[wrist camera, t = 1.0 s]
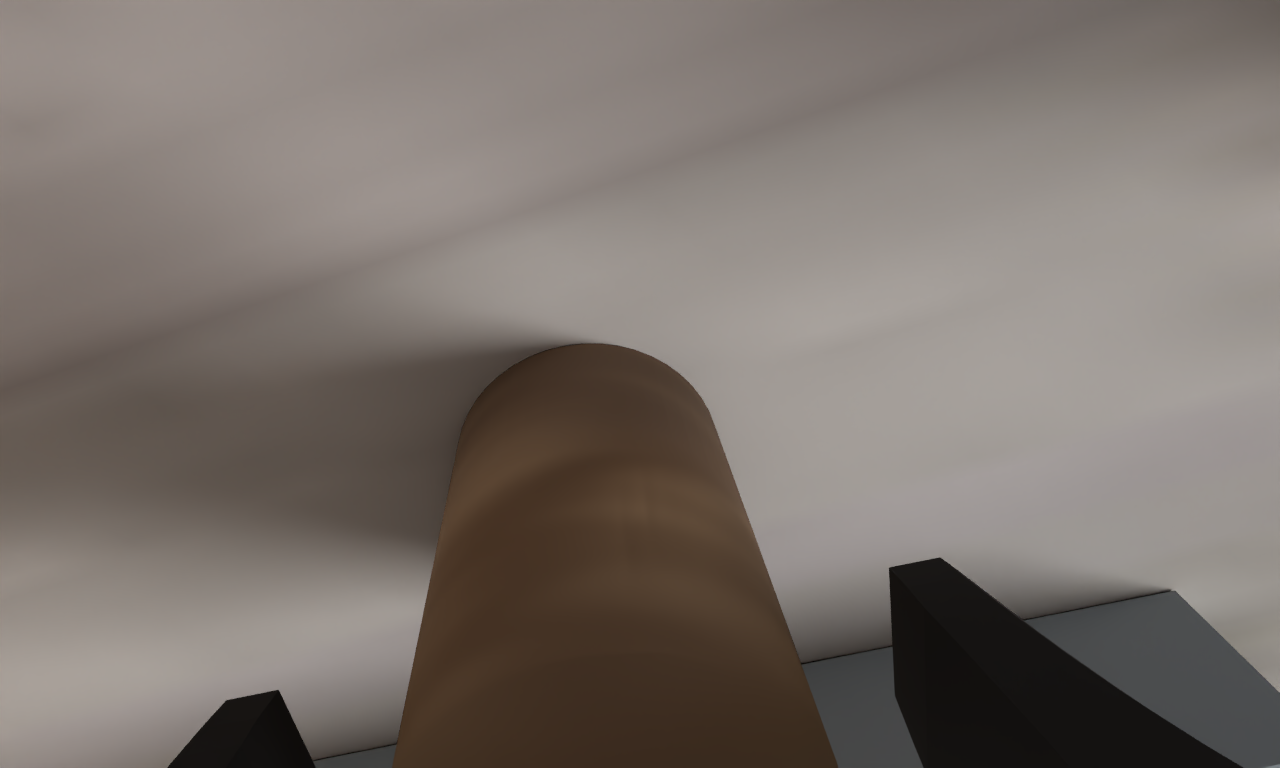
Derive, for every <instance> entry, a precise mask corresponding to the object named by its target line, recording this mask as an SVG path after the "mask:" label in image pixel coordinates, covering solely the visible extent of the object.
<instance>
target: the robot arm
mask: <svg viewBox="0 0 1280 768" xmlns="http://www.w3.org/2000/svg"><path fill="white" fill-rule="evenodd" d="M889 577H890V600H891V623H892V645H893V668H894V690H895V697H896V700H897V703H898V705H899V708H900V710H901V713H902V715H903V718H904V720H905V723H906V726H907V728H908V731H909V733H910V736H911V738H912V741H913V743H914V746H915V748H916V751H917V753H918V756H919V758H920V760H921V763H922V765H923V768H1244V767H1242V766H1240V765H1238V764H1237V763H1235V762H1233V761H1232V760H1230V759H1228V758H1227V757H1225V756H1223V755H1222V754H1220V753H1218V752H1217V751H1215V750H1213V749H1212V748H1210V747H1208V746H1207V745H1205V744H1203V743H1202V742H1200V741H1199V740H1197V739H1195V738H1194V737H1192V736H1191V735H1189V734H1188V733H1186V732H1184V731H1183V730H1181V729H1180V728H1178V727H1177V726H1175V725H1173V724H1172V723H1170V722H1169V721H1167V720H1166V719H1164V718H1162V717H1161V716H1159V715H1158V714H1156V713H1155V712H1153V711H1152V710H1150V709H1148V708H1147V707H1145V706H1144V705H1142V704H1141V703H1139V702H1138V701H1137V700H1135V699H1134V698H1132V697H1131V696H1129V695H1128V694H1126V693H1125V692H1123V691H1122V690H1120V689H1119V688H1117V687H1116V686H1114V685H1113V684H1111V683H1110V682H1109V681H1107V680H1106V679H1104V678H1103V677H1101V676H1100V675H1099V674H1097V673H1096V672H1094V671H1093V670H1091V669H1090V668H1089V667H1087V666H1086V665H1084V664H1083V663H1081V662H1080V661H1079V660H1077V659H1076V658H1074V657H1073V656H1072V655H1070V654H1069V653H1067V652H1066V651H1064V650H1063V649H1062V648H1060V647H1059V646H1057V645H1056V644H1055V643H1053V642H1052V641H1051V640H1049V639H1048V638H1046V637H1045V636H1044V635H1042V634H1041V633H1040V632H1038V631H1037V630H1036V629H1034V628H1033V627H1032V626H1030V625H1029V624H1028V623H1026V622H1025V621H1024V620H1022V619H1021V618H1020V617H1018V616H1017V615H1016V614H1014V613H1013V612H1012V611H1010V610H1009V609H1008V608H1006V607H1005V606H1004V605H1002V604H1001V603H1000V602H998V601H997V600H996V599H994V598H993V597H992V596H991V595H989V594H988V593H987V592H985V591H984V590H983V589H981V588H980V587H979V586H978V585H976V584H975V583H974V582H972V581H971V580H970V579H968V578H967V577H966V576H964V575H963V574H962V573H961V572H959V571H958V570H957V569H955V568H954V567H953V566H951V565H950V564H948V563H947V562H946V561H944V560H943V559H941V558H935V559H930V560H925V561H920V562H915V563H910V564H905V565H900V566H895V567H890V568H889ZM168 768H316V767H315V765H314V763H313V761H312V759H311V757H310V754H309V752H308V750H307V748H306V746H305V744H304V742H303V740H302V738H301V736H300V734H299V731H298V729H297V727H296V725H295V723H294V721H293V719H292V717H291V715H290V713H289V711H288V708H287V706H286V704H285V702H284V700H283V698H282V696H281V694H280V692H279V690H276V691H271V692H266V693H261V694H256V695H251V696H246V697H241V698H236V699H231V700H226V701H225V703H224V704H223V705H222V706H221V707H220V708H219V709H218V710H217V711H216V712H215V713H214V714H213V716H212V717H211V718H210V719H209V720H208V721H207V722H206V723H205V724H204V726H203V727H202V728H201V729H200V730H199V731H198V733H197V734H196V735H195V736H194V737H193V738H192V739H191V741H190V742H189V743H188V744H187V745H186V746H185V748H184V749H183V750H182V751H181V752H180V753H179V755H178V756H177V757H176V758H175V759H174V760H173V762H172V763H171V764H170V765H169V766H168Z"/></svg>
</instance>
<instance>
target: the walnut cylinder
mask: <svg viewBox="0 0 1280 768" xmlns="http://www.w3.org/2000/svg"><path fill="white" fill-rule="evenodd" d="M392 768H838V764H837V761H836V759H835V756H834V753H833V750H832V748H831V745H830V742H829V739H828V737H827V734H826V731H825V728H824V726H823V723H822V720H821V717H820V714H819V712H818V709H817V706H816V703H815V701H814V698H813V695H812V692H811V690H810V687H809V684H808V681H807V679H806V676H805V673H804V670H803V668H802V665H801V662H800V659H799V657H798V654H797V651H796V648H795V646H794V643H793V640H792V637H791V635H790V632H789V629H788V626H787V624H786V621H785V618H784V615H783V613H782V610H781V607H780V604H779V602H778V599H777V596H776V593H775V591H774V588H773V585H772V582H771V579H770V577H769V574H768V571H767V568H766V566H765V563H764V560H763V557H762V555H761V552H760V549H759V546H758V544H757V541H756V538H755V535H754V533H753V530H752V527H751V524H750V522H749V519H748V516H747V513H746V511H745V508H744V505H743V502H742V500H741V497H740V494H739V491H738V489H737V486H736V483H735V480H734V478H733V475H732V472H731V469H730V467H729V464H728V461H727V458H726V456H725V453H724V450H723V447H722V444H721V442H720V439H719V436H718V433H717V431H716V428H715V425H714V423H713V420H712V417H711V415H710V412H709V410H708V408H707V407H706V405H705V403H704V401H703V400H702V398H701V397H700V395H699V394H698V393H697V392H696V390H695V389H694V388H693V386H692V385H691V384H690V383H689V382H688V381H687V380H686V379H684V378H683V377H682V376H681V375H680V374H679V373H678V372H676V371H675V370H674V369H672V368H671V367H669V366H668V365H667V364H665V363H663V362H661V361H659V360H657V359H655V358H654V357H652V356H649V355H647V354H644V353H641V352H639V351H636V350H633V349H629V348H624V347H620V346H615V345H606V344H577V345H569V346H562V347H558V348H554V349H550V350H546V351H543V352H541V353H538V354H536V355H533V356H531V357H528V358H526V359H524V360H523V361H521V362H519V363H517V364H515V365H513V366H512V367H510V368H509V369H508V370H506V371H505V372H504V373H502V374H501V375H499V376H498V377H497V378H496V379H495V380H494V381H493V382H492V383H491V384H490V385H489V386H488V387H487V388H486V389H485V390H484V391H483V392H482V394H481V395H480V396H479V397H478V399H477V400H476V401H475V403H474V405H473V406H472V408H471V410H470V411H469V413H468V415H467V417H466V420H465V422H464V425H463V427H462V430H461V434H460V438H459V442H458V447H457V452H456V457H455V462H454V466H453V471H452V476H451V481H450V486H449V491H448V496H447V501H446V506H445V510H444V515H443V520H442V525H441V530H440V535H439V540H438V545H437V550H436V554H435V559H434V564H433V569H432V574H431V579H430V584H429V589H428V594H427V598H426V603H425V608H424V613H423V618H422V623H421V628H420V633H419V638H418V642H417V647H416V652H415V657H414V662H413V667H412V672H411V677H410V682H409V686H408V691H407V696H406V701H405V706H404V711H403V716H402V721H401V726H400V730H399V735H398V740H397V745H396V750H395V755H394V760H393V765H392Z"/></svg>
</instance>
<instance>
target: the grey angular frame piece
mask: <svg viewBox="0 0 1280 768" xmlns="http://www.w3.org/2000/svg"><path fill="white" fill-rule="evenodd" d="M1024 621H1025V622H1026V623H1028V624H1029V625H1030V626H1032V627H1033V628H1034V629H1036V630H1037V631H1038V632H1040V633H1041V634H1042V635H1044V636H1045V637H1046V638H1048V639H1049V640H1051V641H1052V642H1053V643H1055V644H1056V645H1057V646H1059V647H1060V648H1062V649H1063V650H1064V651H1066V652H1067V653H1069V654H1070V655H1072V656H1073V657H1074V658H1076V659H1077V660H1079V661H1080V662H1081V663H1083V664H1084V665H1086V666H1087V667H1089V668H1090V669H1091V670H1093V671H1094V672H1096V673H1097V674H1099V675H1100V676H1101V677H1103V678H1104V679H1106V680H1107V681H1109V682H1110V683H1111V684H1113V685H1114V686H1116V687H1117V688H1119V689H1120V690H1122V691H1123V692H1125V693H1126V694H1128V695H1129V696H1131V697H1132V698H1134V699H1135V700H1137V701H1138V702H1139V703H1141V704H1142V705H1144V706H1145V707H1147V708H1148V709H1150V710H1152V711H1153V712H1155V713H1156V714H1158V715H1159V716H1161V717H1162V718H1164V719H1166V720H1167V721H1169V722H1170V723H1172V724H1173V725H1175V726H1177V727H1178V728H1180V729H1181V730H1183V731H1184V732H1186V733H1188V734H1189V735H1191V736H1192V737H1194V738H1195V739H1197V740H1199V741H1200V742H1202V743H1203V744H1205V745H1207V746H1208V747H1210V748H1212V749H1213V750H1215V751H1217V752H1218V753H1220V754H1222V755H1223V756H1225V757H1227V758H1228V759H1230V760H1232V761H1233V762H1235V763H1237V764H1238V765H1240V766H1242V767H1244V768H1280V693H1279V692H1278V691H1277V690H1276V689H1275V688H1274V687H1273V686H1272V685H1271V684H1270V683H1269V682H1268V681H1267V680H1266V679H1265V678H1264V677H1263V676H1262V675H1261V674H1260V673H1259V672H1258V671H1257V670H1256V669H1255V668H1254V667H1253V666H1252V665H1251V664H1250V663H1249V662H1247V661H1246V660H1245V659H1244V658H1243V657H1242V656H1241V655H1240V654H1239V653H1238V652H1237V651H1236V650H1235V649H1234V648H1233V647H1232V646H1231V645H1230V644H1229V643H1228V642H1227V641H1226V640H1225V639H1224V638H1223V637H1222V636H1221V635H1220V634H1219V633H1218V632H1217V631H1216V630H1215V629H1214V628H1213V627H1212V626H1211V625H1210V624H1209V623H1208V622H1207V621H1206V620H1205V619H1203V618H1202V617H1201V616H1200V615H1199V614H1198V613H1197V612H1196V611H1195V610H1194V609H1193V608H1192V607H1191V606H1190V605H1189V604H1188V603H1187V602H1186V601H1185V600H1184V599H1183V598H1182V597H1181V596H1180V595H1179V594H1178V593H1177V592H1176V591H1171V592H1166V593H1161V594H1156V595H1151V596H1146V597H1141V598H1136V599H1131V600H1125V601H1120V602H1115V603H1110V604H1105V605H1100V606H1095V607H1090V608H1085V609H1080V610H1075V611H1070V612H1065V613H1060V614H1055V615H1050V616H1045V617H1040V618H1034V619H1029V620H1024ZM802 668H803V670H804V673H805V676H806V679H807V681H808V684H809V687H810V690H811V692H812V695H813V698H814V701H815V703H816V706H817V709H818V712H819V714H820V717H821V720H822V723H823V726H824V728H825V731H826V734H827V737H828V739H829V742H830V745H831V748H832V750H833V753H834V756H835V759H836V761H837V764H838V768H923V765H922V763H921V760H920V758H919V756H918V753H917V751H916V748H915V746H914V743H913V741H912V738H911V736H910V733H909V731H908V728H907V726H906V723H905V720H904V718H903V715H902V713H901V710H900V708H899V705H898V703H897V700H896V697H895V690H894V668H893V647H888V648H883V649H878V650H873V651H868V652H863V653H858V654H853V655H847V656H842V657H837V658H832V659H827V660H822V661H817V662H812V663H807V664H802ZM395 750H396V745H393V746H387V747H382V748H377V749H372V750H367V751H362V752H357V753H352V754H347V755H342V756H337V757H332V758H327V759H322V760H317V761H313V763H314V765H315V767H316V768H392V765H393V760H394V755H395Z"/></svg>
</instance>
